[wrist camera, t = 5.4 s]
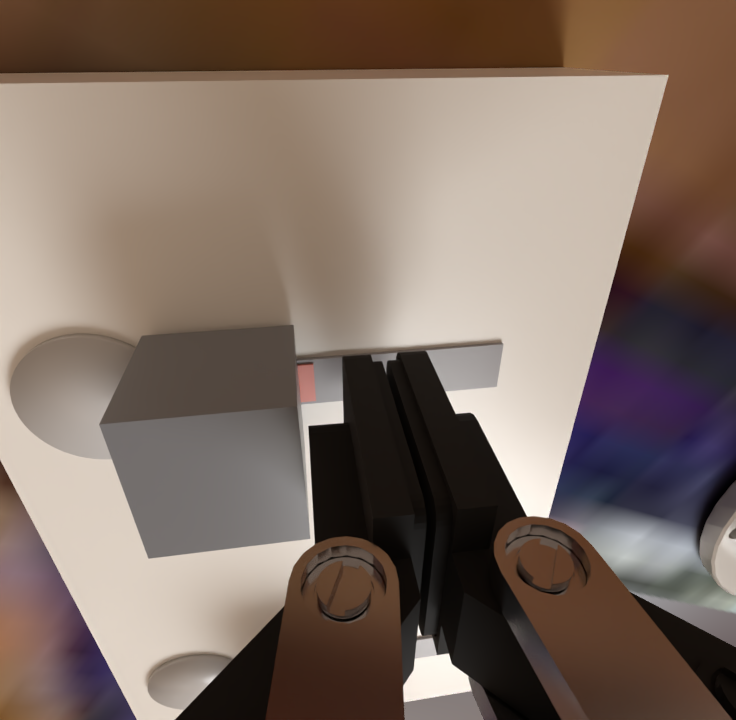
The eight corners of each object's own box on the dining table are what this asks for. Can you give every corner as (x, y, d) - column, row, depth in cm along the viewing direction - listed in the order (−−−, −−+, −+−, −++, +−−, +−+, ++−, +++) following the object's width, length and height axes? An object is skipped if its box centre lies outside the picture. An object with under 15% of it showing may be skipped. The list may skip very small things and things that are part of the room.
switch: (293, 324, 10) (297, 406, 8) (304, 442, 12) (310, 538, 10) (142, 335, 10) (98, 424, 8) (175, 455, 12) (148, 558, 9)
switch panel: (564, 67, 13) (676, 75, 9) (471, 596, 24) (504, 691, 21) (-49, 73, 11) (-207, 87, 7) (169, 640, 22) (148, 750, 19)
